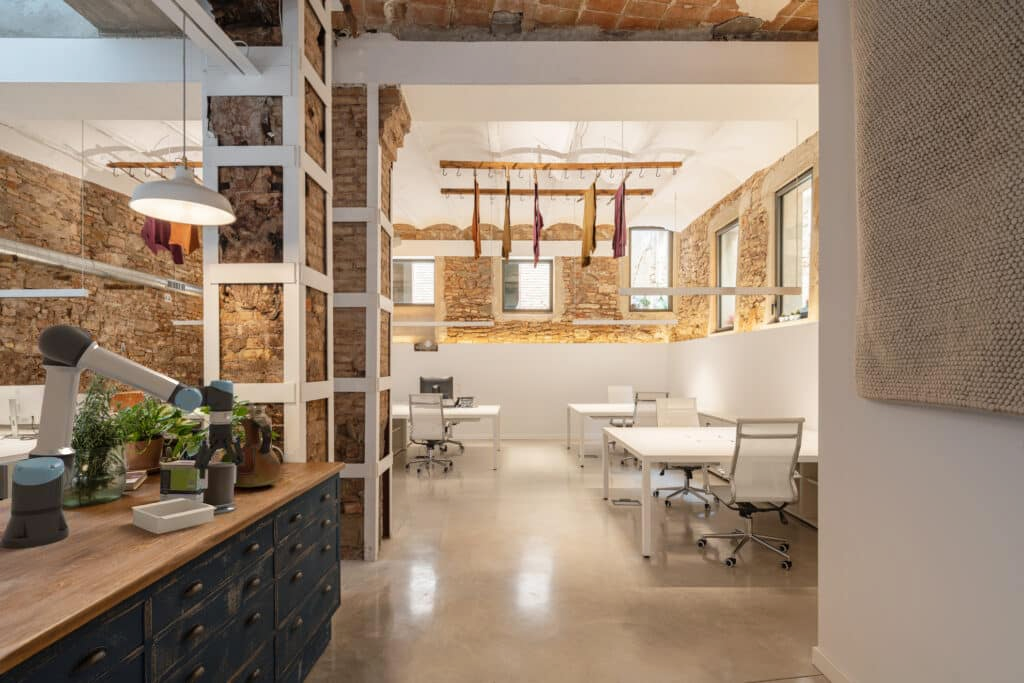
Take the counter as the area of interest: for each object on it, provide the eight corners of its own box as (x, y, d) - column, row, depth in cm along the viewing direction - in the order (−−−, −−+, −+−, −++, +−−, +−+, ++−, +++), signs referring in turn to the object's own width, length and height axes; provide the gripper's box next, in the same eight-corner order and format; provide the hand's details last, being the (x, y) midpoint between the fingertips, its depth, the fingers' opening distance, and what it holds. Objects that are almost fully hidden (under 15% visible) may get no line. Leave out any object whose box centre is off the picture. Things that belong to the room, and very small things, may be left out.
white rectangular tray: (162, 535, 170) (162, 519, 170) (128, 523, 183) (129, 507, 183) (218, 522, 184) (218, 507, 184) (183, 511, 197) (183, 497, 197)
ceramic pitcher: (258, 480, 251) (260, 413, 252) (291, 484, 242) (293, 415, 243) (219, 488, 233) (221, 417, 234) (252, 494, 224) (254, 419, 225)
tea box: (213, 498, 217) (214, 460, 218) (195, 504, 207) (197, 464, 208) (177, 497, 219) (178, 459, 219) (158, 503, 209) (159, 463, 209)
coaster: (210, 516, 192) (210, 513, 192) (192, 511, 198) (192, 508, 198) (243, 509, 202) (243, 506, 202) (225, 504, 208) (225, 501, 208)
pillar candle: (208, 507, 193) (210, 463, 194) (199, 502, 200) (201, 460, 201) (237, 502, 200) (239, 460, 201) (227, 498, 207) (229, 457, 208)
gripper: (194, 426, 190) (192, 492, 189) (255, 421, 208) (254, 481, 207) (183, 424, 194) (181, 489, 193) (244, 419, 212) (242, 478, 212)
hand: (219, 485), depth 200 cm, fingers closed on pillar candle, 10 cm apart
